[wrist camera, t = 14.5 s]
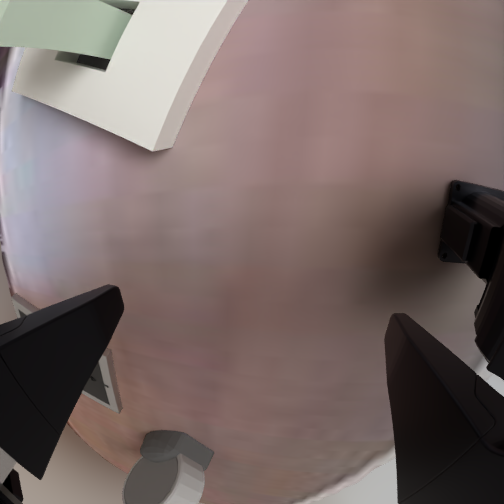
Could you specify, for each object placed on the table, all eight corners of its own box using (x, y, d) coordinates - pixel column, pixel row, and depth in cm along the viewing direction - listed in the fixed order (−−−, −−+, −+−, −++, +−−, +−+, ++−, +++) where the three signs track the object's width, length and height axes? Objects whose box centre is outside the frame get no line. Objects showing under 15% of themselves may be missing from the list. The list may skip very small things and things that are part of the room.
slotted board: (254, -9, 13) (246, -27, 11) (172, 147, 20) (152, 151, 17) (82, -25, 13) (64, -32, 10) (32, 89, 19) (11, 91, 16)
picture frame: (39, 354, 40) (124, 405, 39) (31, 362, 38) (117, 417, 37) (19, 290, 34) (114, 346, 32) (7, 299, 31) (103, 360, 30)
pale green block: (144, 21, 15) (22, -23, 4) (124, 62, 17) (-9, 46, 6) (104, 16, 15) (-9, -11, 4) (87, 54, 17) (-33, 46, 5)
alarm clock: (172, 458, 45) (143, 526, 29) (134, 432, 43) (97, 503, 26) (228, 455, 39) (200, 543, 22) (184, 426, 36) (143, 523, 20)
